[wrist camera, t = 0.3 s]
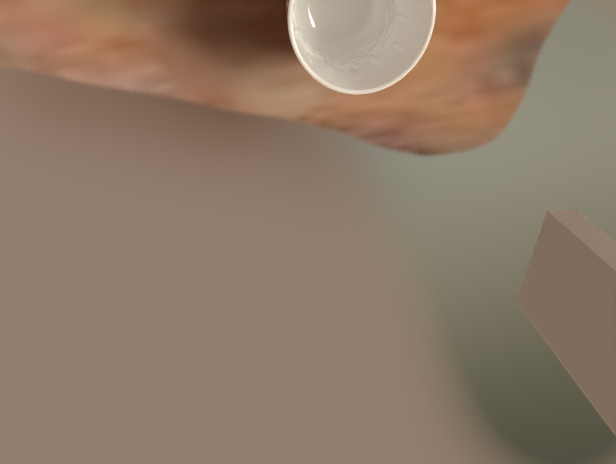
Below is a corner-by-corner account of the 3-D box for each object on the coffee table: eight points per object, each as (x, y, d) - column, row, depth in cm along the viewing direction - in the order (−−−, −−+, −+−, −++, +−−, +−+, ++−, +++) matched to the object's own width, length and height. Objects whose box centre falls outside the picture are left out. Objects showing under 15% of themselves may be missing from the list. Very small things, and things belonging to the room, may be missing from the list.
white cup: (357, -90, 31) (396, -107, 23) (408, 21, 35) (458, 43, 26) (256, -19, 33) (257, -8, 24) (315, 81, 37) (335, 120, 28)
